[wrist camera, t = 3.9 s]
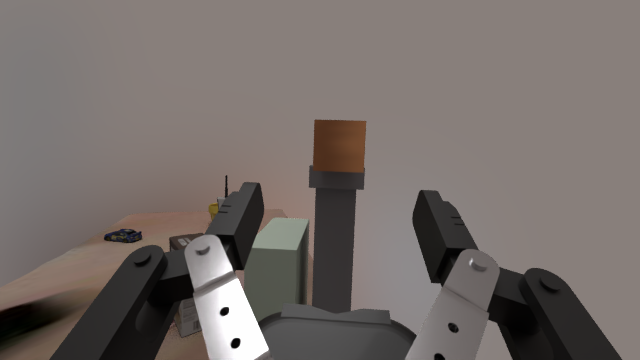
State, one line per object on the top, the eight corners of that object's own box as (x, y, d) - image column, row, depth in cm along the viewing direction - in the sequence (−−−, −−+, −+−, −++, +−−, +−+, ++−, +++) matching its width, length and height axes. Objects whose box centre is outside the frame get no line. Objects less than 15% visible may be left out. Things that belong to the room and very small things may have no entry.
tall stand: (300, 477, 26) (309, 165, 23) (311, 376, 38) (318, 162, 35) (349, 482, 26) (364, 167, 23) (344, 379, 38) (354, 164, 35)
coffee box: (170, 314, 52) (168, 236, 50) (203, 303, 56) (202, 231, 54) (180, 339, 45) (178, 250, 43) (217, 324, 49) (217, 243, 47)
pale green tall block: (243, 471, 26) (244, 247, 24) (271, 373, 38) (274, 217, 36) (290, 476, 26) (296, 250, 24) (304, 376, 38) (309, 219, 36)
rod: (312, 170, 15) (314, 119, 15) (326, 162, 39) (327, 142, 39) (363, 172, 15) (366, 120, 15) (345, 163, 39) (346, 143, 39)
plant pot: (233, 222, 123) (234, 202, 122) (232, 228, 113) (232, 206, 112) (210, 223, 120) (210, 202, 119) (206, 229, 110) (206, 207, 109)
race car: (94, 242, 91) (93, 230, 91) (110, 237, 98) (110, 225, 97) (133, 245, 90) (133, 232, 90) (148, 239, 97) (147, 227, 96)
